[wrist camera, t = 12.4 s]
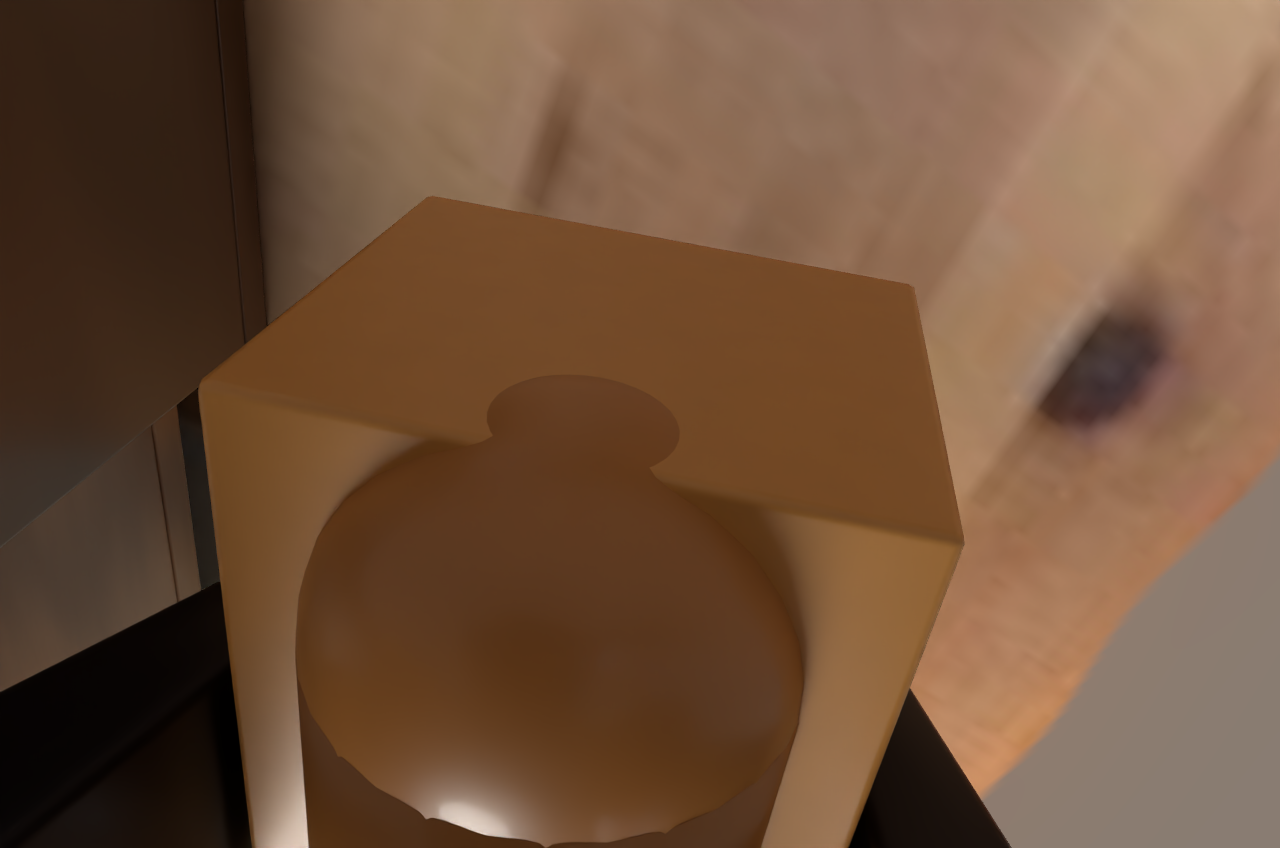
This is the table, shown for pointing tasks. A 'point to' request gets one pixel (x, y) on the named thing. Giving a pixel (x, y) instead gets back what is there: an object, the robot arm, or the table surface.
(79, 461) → the cabinet
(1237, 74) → the table surface
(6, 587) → the drawer
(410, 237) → the orange hollowed block
